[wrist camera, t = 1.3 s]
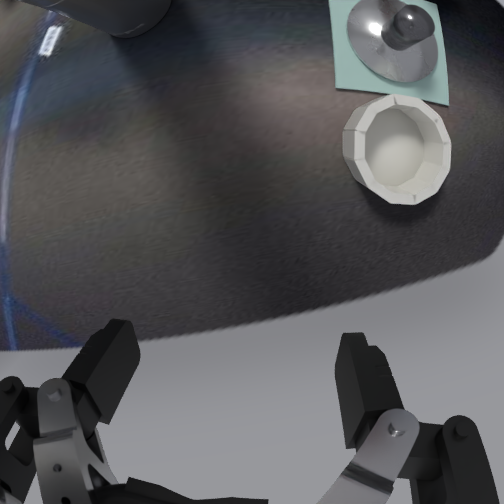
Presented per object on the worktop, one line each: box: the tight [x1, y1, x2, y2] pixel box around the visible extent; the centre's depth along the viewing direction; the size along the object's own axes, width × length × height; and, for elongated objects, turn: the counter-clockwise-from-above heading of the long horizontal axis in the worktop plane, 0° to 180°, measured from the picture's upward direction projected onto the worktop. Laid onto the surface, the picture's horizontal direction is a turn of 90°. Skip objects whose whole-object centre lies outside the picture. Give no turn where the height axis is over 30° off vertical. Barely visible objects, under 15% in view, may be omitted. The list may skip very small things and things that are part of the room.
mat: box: [329, 0, 449, 106], centre depth 23 cm, size 14×14×1 cm
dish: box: [343, 94, 451, 205], centre depth 26 cm, size 11×11×5 cm
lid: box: [346, 0, 438, 83], centre depth 19 cm, size 11×11×7 cm
